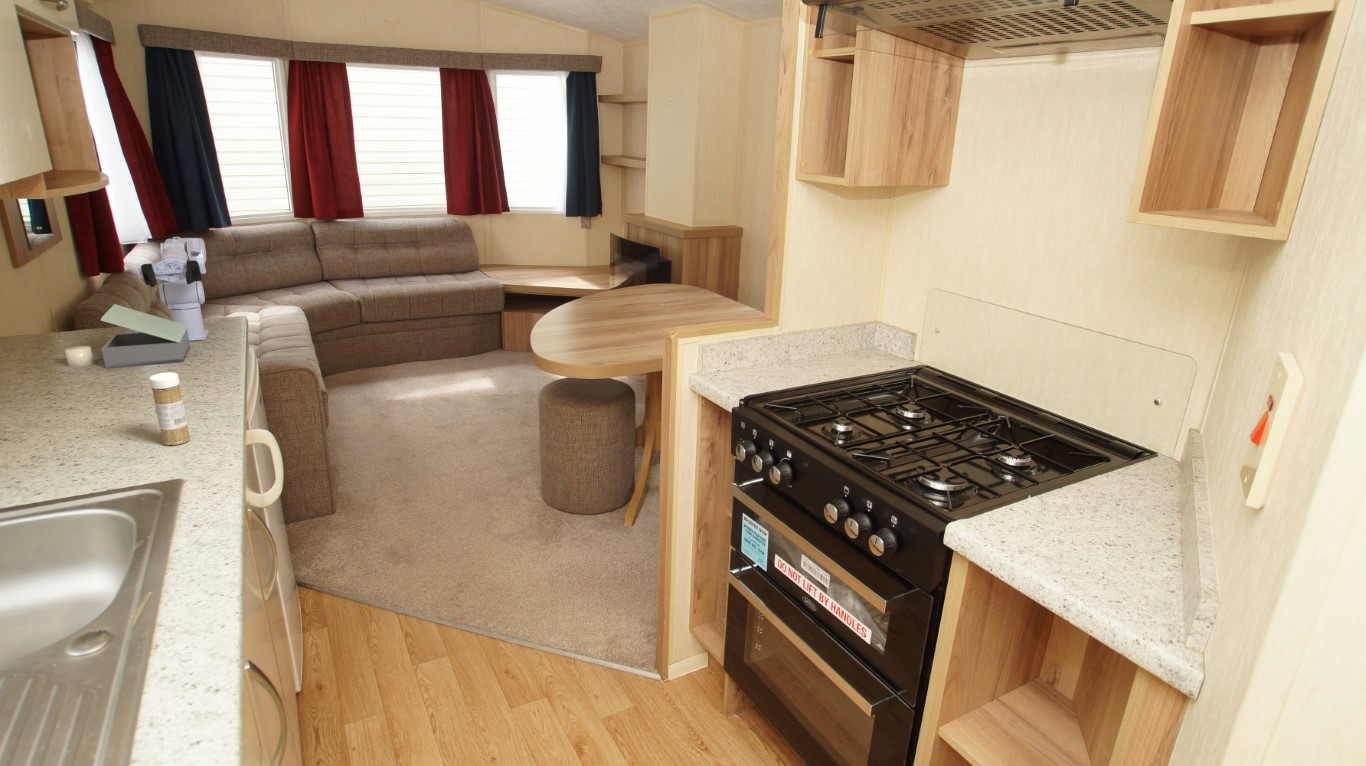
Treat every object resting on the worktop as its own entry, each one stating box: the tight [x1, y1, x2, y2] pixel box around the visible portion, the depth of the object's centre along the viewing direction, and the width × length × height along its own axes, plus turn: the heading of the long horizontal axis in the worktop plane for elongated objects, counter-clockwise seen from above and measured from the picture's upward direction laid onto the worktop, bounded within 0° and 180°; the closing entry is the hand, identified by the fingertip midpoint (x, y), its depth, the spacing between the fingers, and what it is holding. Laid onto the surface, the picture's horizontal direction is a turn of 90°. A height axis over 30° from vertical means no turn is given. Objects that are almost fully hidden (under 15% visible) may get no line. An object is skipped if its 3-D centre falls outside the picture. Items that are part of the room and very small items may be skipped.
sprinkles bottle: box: [148, 371, 191, 446], centre depth 142 cm, size 5×5×14 cm
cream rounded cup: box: [64, 345, 95, 368], centre depth 185 cm, size 5×5×4 cm
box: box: [101, 330, 191, 369], centre depth 191 cm, size 14×16×5 cm
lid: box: [100, 303, 188, 343], centre depth 189 cm, size 15×16×1 cm
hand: (169, 282), depth 186 cm, fingers open, 7 cm apart
